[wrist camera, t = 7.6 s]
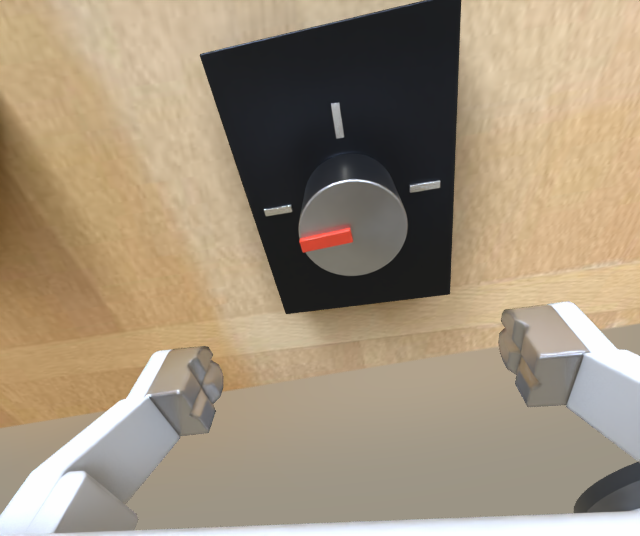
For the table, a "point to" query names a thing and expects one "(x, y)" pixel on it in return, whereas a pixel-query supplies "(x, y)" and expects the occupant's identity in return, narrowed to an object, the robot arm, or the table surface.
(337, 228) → the knob
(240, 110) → the panel
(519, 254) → the table surface
